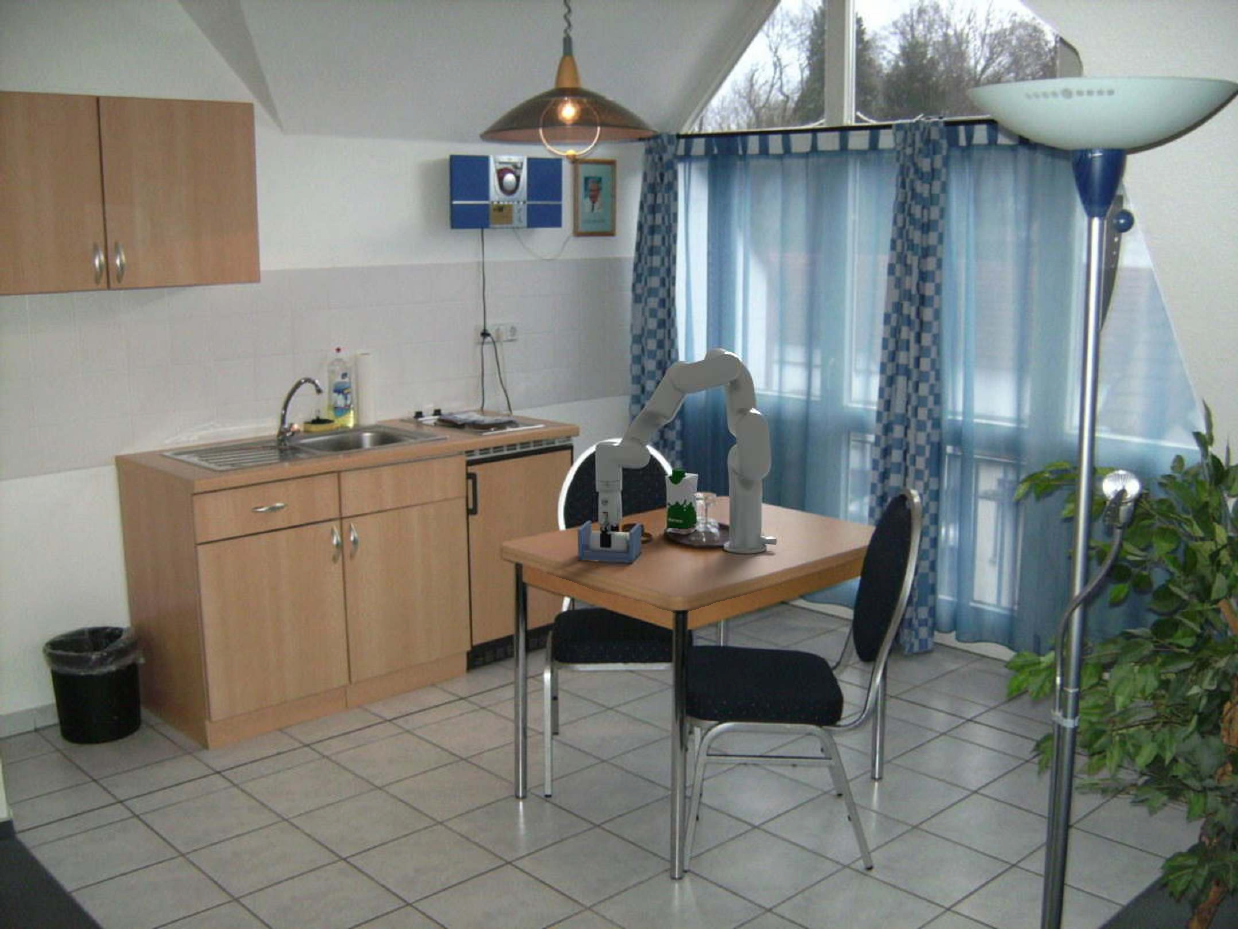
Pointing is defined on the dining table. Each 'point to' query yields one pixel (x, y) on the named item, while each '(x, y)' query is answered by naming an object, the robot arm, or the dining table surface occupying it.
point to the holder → (629, 557)
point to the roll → (617, 542)
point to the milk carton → (681, 499)
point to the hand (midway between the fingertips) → (609, 543)
